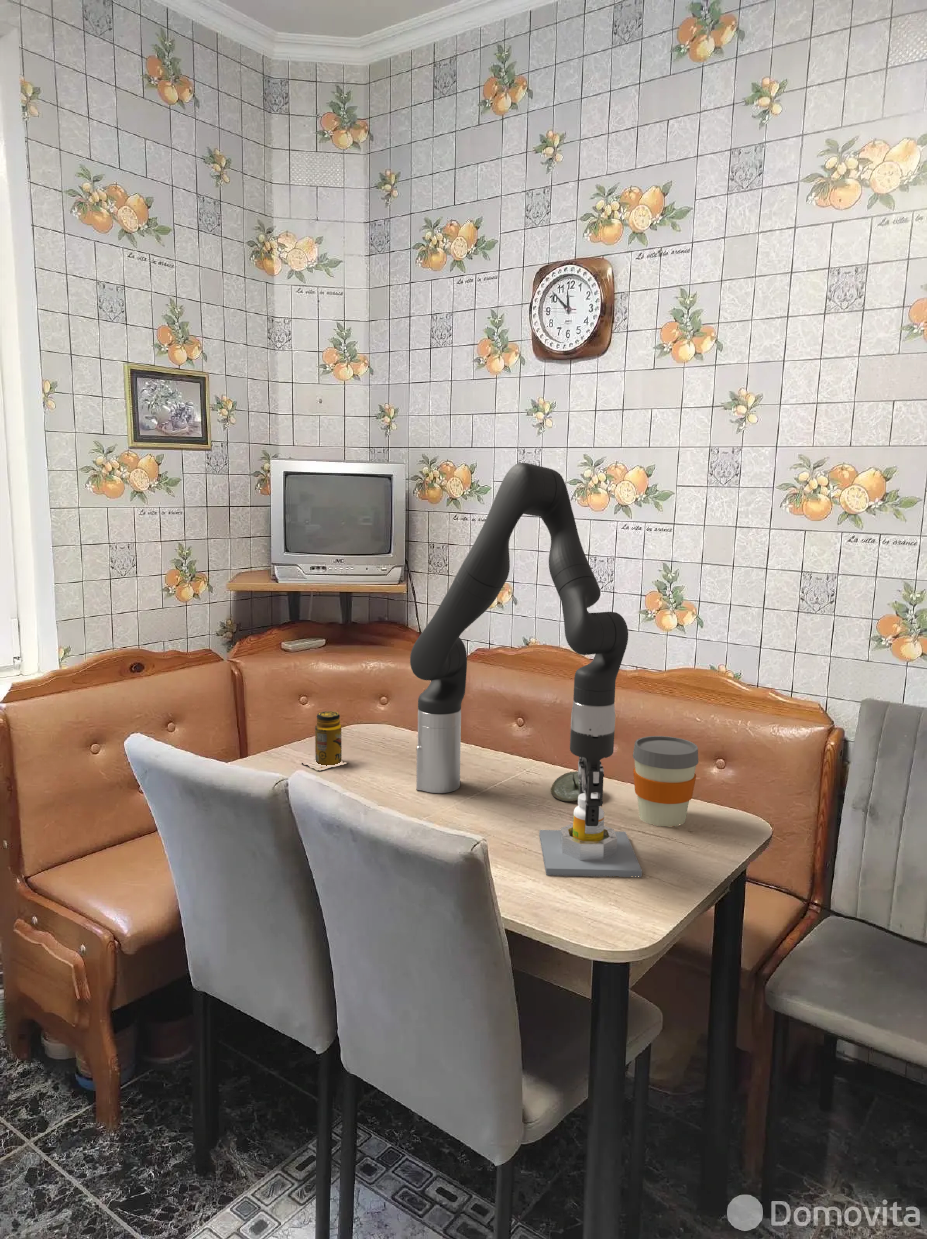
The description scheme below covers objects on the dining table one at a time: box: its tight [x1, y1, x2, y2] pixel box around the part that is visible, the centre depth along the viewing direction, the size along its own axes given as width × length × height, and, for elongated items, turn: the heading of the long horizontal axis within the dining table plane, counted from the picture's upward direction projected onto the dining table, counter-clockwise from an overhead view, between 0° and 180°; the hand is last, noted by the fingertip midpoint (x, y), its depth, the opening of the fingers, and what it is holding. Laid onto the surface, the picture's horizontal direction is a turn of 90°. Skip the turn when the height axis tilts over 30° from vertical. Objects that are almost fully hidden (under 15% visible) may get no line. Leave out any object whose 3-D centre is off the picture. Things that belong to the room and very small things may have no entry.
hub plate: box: [538, 829, 643, 878], centre depth 149 cm, size 16×16×1 cm
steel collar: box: [560, 822, 617, 861], centre depth 148 cm, size 10×10×3 cm
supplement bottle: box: [572, 793, 605, 842], centre depth 148 cm, size 5×5×10 cm
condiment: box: [314, 710, 343, 766], centre depth 194 cm, size 7×8×12 cm
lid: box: [550, 770, 582, 803], centre depth 177 cm, size 11×10×5 cm
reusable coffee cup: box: [632, 735, 699, 827], centre depth 165 cm, size 13×13×15 cm
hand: (588, 815), depth 148 cm, fingers open, 8 cm apart
